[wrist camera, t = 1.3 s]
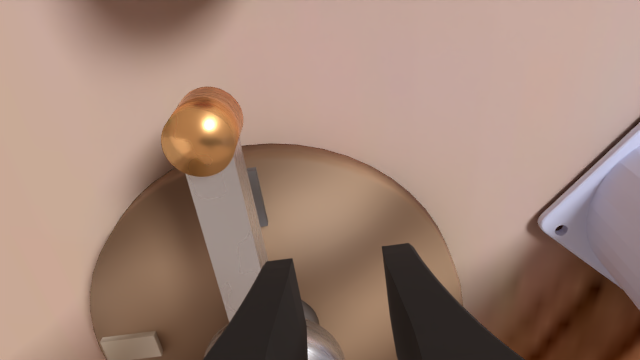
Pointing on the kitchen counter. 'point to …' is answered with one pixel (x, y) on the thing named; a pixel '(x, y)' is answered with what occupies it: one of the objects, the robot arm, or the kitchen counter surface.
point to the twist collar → (226, 200)
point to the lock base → (280, 243)
